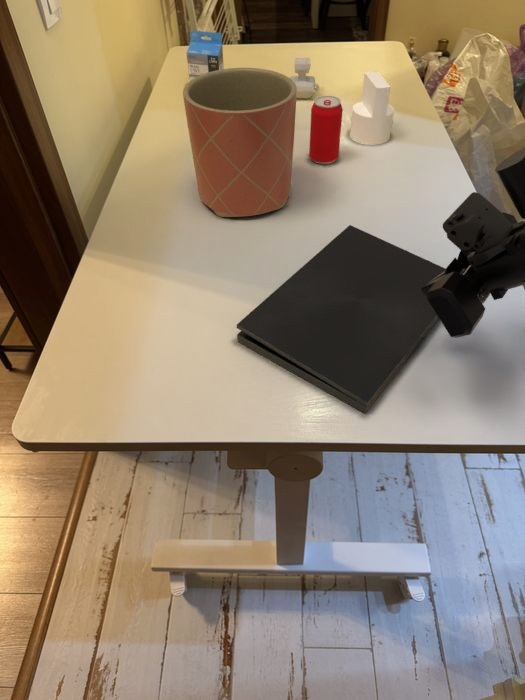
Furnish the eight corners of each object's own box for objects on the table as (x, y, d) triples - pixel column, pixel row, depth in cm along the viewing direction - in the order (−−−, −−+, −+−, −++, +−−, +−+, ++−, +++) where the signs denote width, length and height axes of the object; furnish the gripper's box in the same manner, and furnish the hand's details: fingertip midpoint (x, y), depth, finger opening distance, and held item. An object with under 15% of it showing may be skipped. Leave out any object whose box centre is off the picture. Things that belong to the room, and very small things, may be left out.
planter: (189, 178, 106) (175, 73, 91) (278, 165, 109) (279, 62, 94) (205, 230, 93) (192, 118, 79) (306, 213, 96) (311, 103, 82)
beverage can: (338, 152, 112) (343, 94, 103) (338, 166, 108) (343, 107, 99) (309, 151, 113) (312, 94, 104) (308, 165, 109) (311, 107, 100)
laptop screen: (236, 328, 72) (236, 324, 72) (349, 228, 88) (349, 224, 88) (366, 406, 64) (367, 403, 64) (464, 281, 80) (466, 277, 80)
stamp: (283, 101, 131) (283, 65, 125) (284, 90, 135) (285, 55, 129) (318, 101, 130) (320, 65, 124) (319, 91, 135) (321, 55, 128)
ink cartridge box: (189, 86, 138) (183, 35, 129) (194, 81, 141) (189, 30, 132) (220, 90, 136) (216, 37, 127) (225, 84, 139) (222, 32, 130)
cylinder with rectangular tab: (395, 143, 115) (405, 86, 106) (355, 146, 114) (362, 89, 105) (382, 125, 121) (391, 70, 112) (345, 128, 120) (350, 73, 111)
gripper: (537, 149, 57) (424, 205, 70) (469, 227, 47) (352, 276, 60) (582, 233, 59) (465, 273, 72) (525, 325, 50) (402, 352, 63)
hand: (423, 290), depth 67 cm, fingers closed
